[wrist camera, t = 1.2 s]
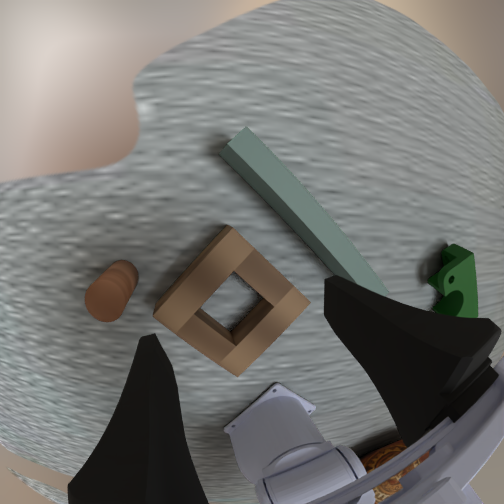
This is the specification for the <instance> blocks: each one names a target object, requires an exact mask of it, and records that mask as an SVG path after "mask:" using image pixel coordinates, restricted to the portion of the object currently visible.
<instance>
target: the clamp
mask: <svg viewBox="0 0 504 504" xmlns="http://www.w3.org/2000/svg"><path fill="white" fill-rule="evenodd" d="M441 255H442V260H443V265H444V267H443V268H442V269H441V270H440V271H439V272H438V273H436V274H435V275H433V276H432V277H430V278H429V279H428V284H430V285H431V286H432V287H434V288H435V289H436V290H438V291H439V292H440V293H441V294H443V295H444V296H443V298H442V299H441V301H440V302H439V303H438V304H436V305H435V306H433V310H434V311H435V312H436V313H439V314H444V315H450V316H457V317H466V318H477V317H478V295H477V280H476V269H475V260H474V253H473V252H471V251H469V250H467V249H465V248H463V247H460V246H458V245H456V244H451V245H450V246H449V247H447V248H446V249H444V250H443V251H442V252H441Z"/></svg>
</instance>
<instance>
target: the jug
mask: <svg viewBox="0 0 504 504" xmlns="http://www.w3.org/2000/svg"><path fill="white" fill-rule="evenodd" d="M406 449H407V447H406V446H405V444H404V443H403V440H399V441H397V442H394V443H392V444H389V445H387V446H384V447H382V448H380V449H377V450H375V451H372V452H370V453H368V454H366V455H364V456H362V457H361V458H359V460H360V461H361V463H362V465H363V466H364V468H365V470H366V472H367V474H368V473H370V472H371V471H373V470H375V469H376V468H378V467H380V466H381V465H383V464H384V463H386V462H388V461H389V460H391V459H392V458H394V457H395V456H397V455H398V454H400V453H401V452H403V451H404V450H406ZM430 450H431V449H430ZM430 450H429V451H428V452H426V453H425V454H424V455H423V456H421V457H420V458H419V459H417V460H416V461H414V462H413V463H412V464H410V465H409V466H408V467H406V468H405V469H403V470H402V471H400V472H399V473H397V474H396V475H394V476H393V477H391V478H390V479H388V480H387V481H385V482H383V483H382V484H380V485H378V486H377V487H375V488H373V491H374V493H375V499H376V500H375V502H374V504H378V503H379V502H381V501H383V500H384V499H386V498H388V497H389V496H391V495H393V494H394V493H396V492H397V491H399V490H400V489H402V488H403V487H402V485H401V484H400V482H399V479H400V478H401V477H403V476H404V475H406V474H407V473H409V472H410V471H411V470H413V469H414V468H415V467H417V466H418V465H419V464H421V463H422V462H423V461H425V460H426V459H427V458H428V457H429V452H430Z"/></svg>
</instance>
